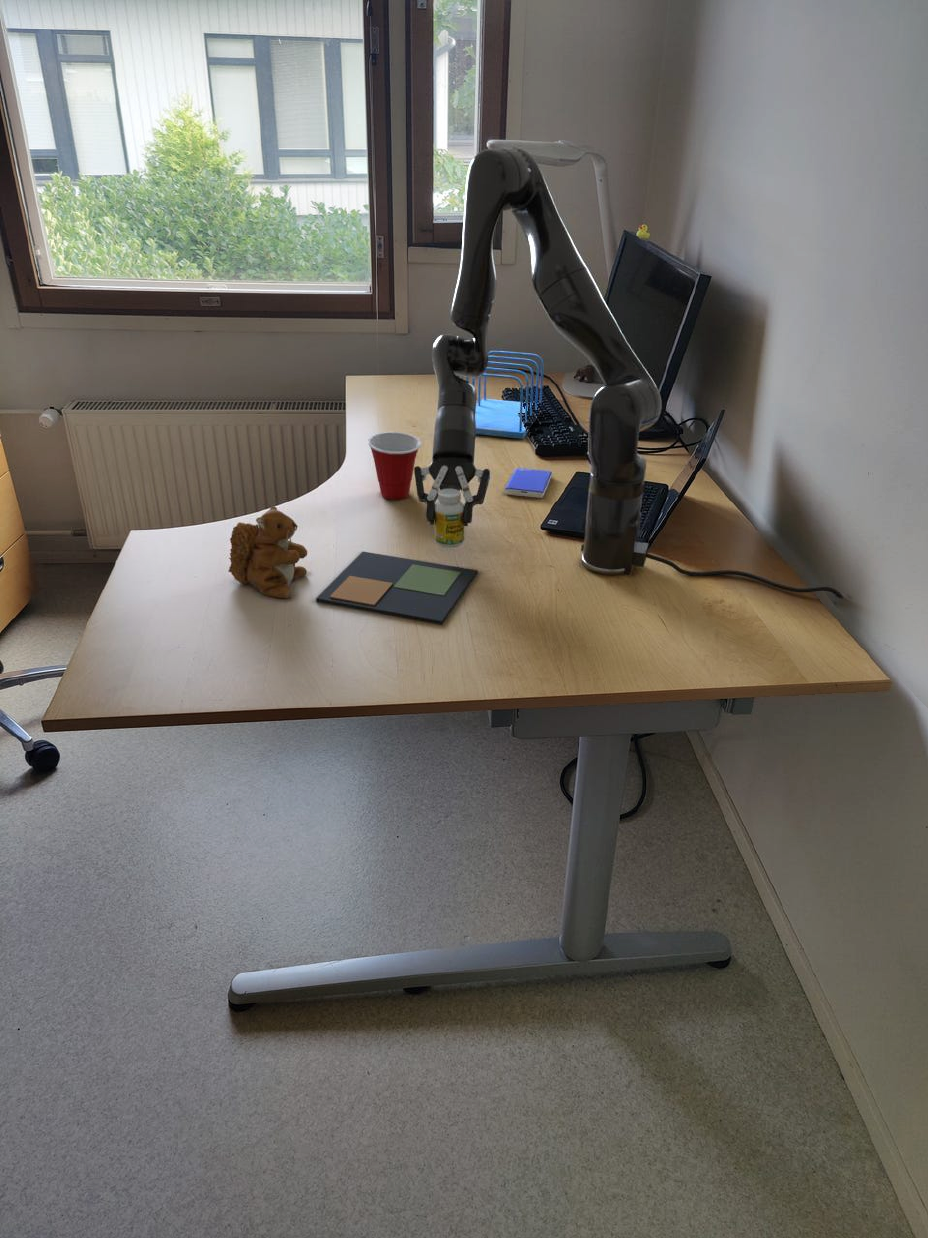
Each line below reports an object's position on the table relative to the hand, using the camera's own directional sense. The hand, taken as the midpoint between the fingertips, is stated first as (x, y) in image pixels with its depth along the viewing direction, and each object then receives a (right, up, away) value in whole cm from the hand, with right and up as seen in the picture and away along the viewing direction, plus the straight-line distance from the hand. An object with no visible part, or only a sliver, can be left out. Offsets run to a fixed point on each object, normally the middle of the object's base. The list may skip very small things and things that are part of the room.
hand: (448, 523), depth 157 cm
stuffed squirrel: (-31, -11, -5) cm, 33 cm away
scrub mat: (-8, -11, -5) cm, 15 cm away
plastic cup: (-12, +9, +30) cm, 34 cm away
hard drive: (+17, +12, +36) cm, 42 cm away
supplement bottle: (0, -3, +4) cm, 5 cm away
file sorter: (+12, +34, +75) cm, 83 cm away
